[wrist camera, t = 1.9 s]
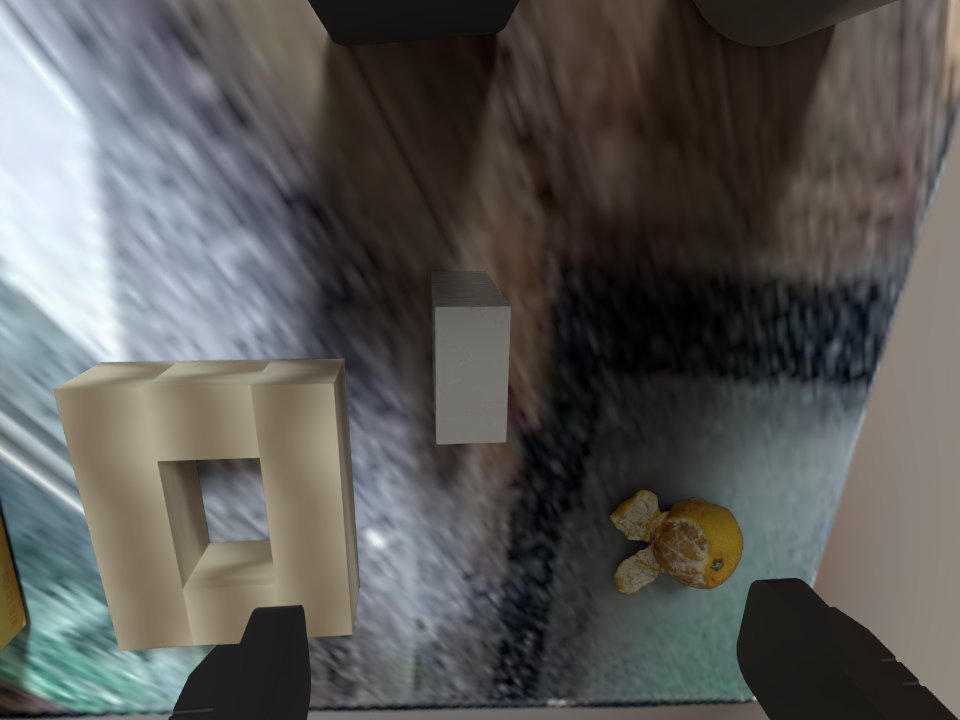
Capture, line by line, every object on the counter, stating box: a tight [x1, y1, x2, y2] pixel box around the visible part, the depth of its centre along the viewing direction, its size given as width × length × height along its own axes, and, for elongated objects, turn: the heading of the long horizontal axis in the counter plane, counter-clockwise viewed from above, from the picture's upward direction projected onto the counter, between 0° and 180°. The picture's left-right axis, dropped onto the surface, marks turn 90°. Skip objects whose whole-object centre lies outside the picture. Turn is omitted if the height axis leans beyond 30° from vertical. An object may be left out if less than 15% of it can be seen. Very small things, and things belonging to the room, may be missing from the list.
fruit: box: [610, 490, 743, 595], centre depth 34 cm, size 8×8×4 cm
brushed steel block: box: [431, 271, 511, 444], centre depth 26 cm, size 3×6×9 cm, turn 179°
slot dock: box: [53, 359, 360, 651], centre depth 30 cm, size 13×16×4 cm
